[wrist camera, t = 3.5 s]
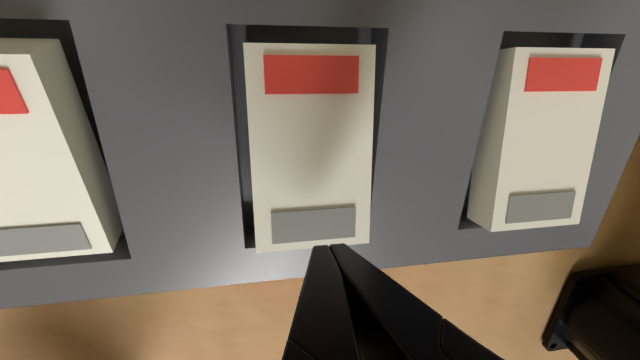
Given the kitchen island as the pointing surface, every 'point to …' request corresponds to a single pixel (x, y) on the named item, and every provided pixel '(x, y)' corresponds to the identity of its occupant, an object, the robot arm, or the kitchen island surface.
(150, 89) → the rocker switch panel
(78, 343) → the kitchen island surface
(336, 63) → the rocker middle
